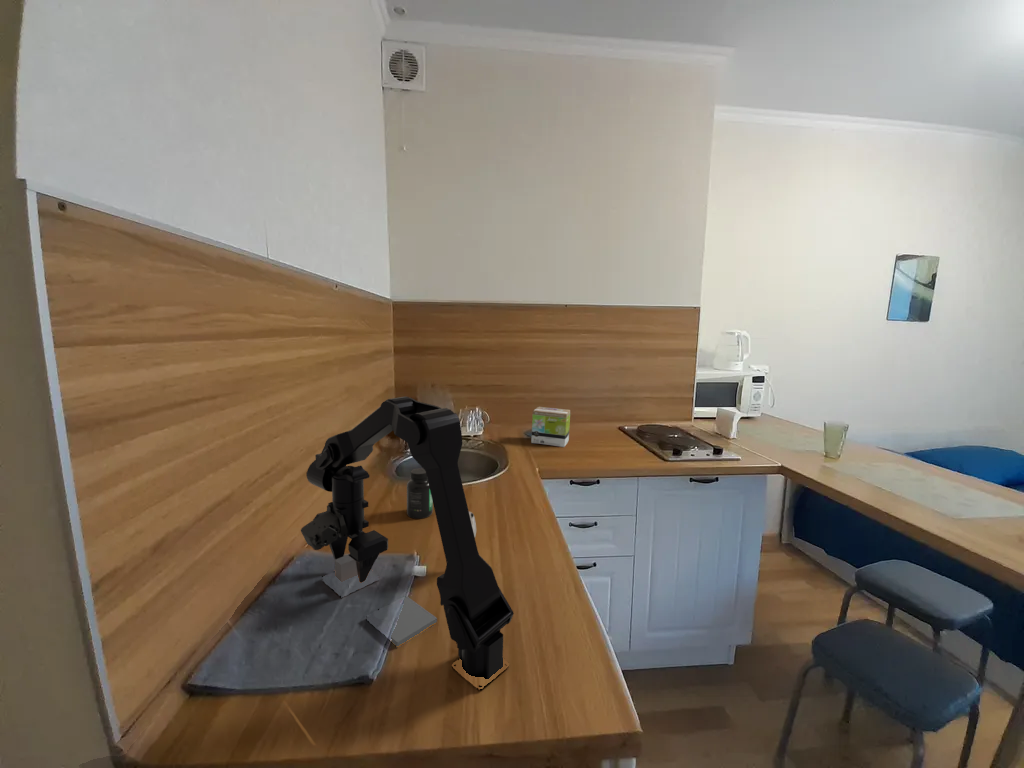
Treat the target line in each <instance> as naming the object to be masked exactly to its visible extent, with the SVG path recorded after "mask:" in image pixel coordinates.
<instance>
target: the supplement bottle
mask: <svg viewBox="0 0 1024 768" xmlns="http://www.w3.org/2000/svg"><path fill="white" fill-rule="evenodd" d="M409 478H410V480H408V482H407V484H406V514H407V516H408V517H409V518H412V519H415V520H417V519H418V520H420V519H425V518H428V517H430V516H432V514H433V511H434V505H433V501H432V496H431V492H430V487H429V483H428V479H427V474H426V471H425V470H424V469H423V468H422V467H420V468H419V467H418V468H413V469H412V470H411V471H410V475H409Z"/></svg>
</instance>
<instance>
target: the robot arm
mask: <svg viewBox="0 0 1024 768" xmlns="http://www.w3.org/2000/svg"><path fill="white" fill-rule="evenodd" d="M391 432H393V434H394V436H396V437H397V438H399V439H401V440H403V442H406V443H407V446H408V448H409V452H410V455H411V457H412V458H413V459H414V461H416V462H417V463H418V464H419V466H421V467H420V468H423V469H424V470H425V471H426V474H427V479H428V483H429V487H430V492H431V496H432V501H433V510H434V512H435V518H436V521H437V526H438V531H439V536H440V539H441V540H440V541H441V543H442V548H443V552H444V556H445V557H444V558H445V560H446V561H445V562H446V566H445V570H444V573H443V574H441V575H439V576H437V578H436V586H437V590H438V592H439V596H440V597H439V598H440V602H439V603H440V604H439V605H440V606H443V612H444V615H445V620H446V624H447V628H448V632H449V638H450V639H451V640H452V641H454V642H455V643H456V646H457V647H456V648H457V650H458V651H457V653H458V654H457V655H458V659H459V658H460V659H461V660H462V667H463V669H464V670H465V671H466V673H468V674H469V675H471V676H475V677H484V678H485V679H489V678H490V677H491V676H492V675H493V674H495V673H496V672H497V671H498V670H499V669H501V668H502V667H503V658H504V634H503V633H502V632H501V629H503V628H504V627H505V626H507V625H508V624H510V623H511V621H512V620H513V617H514V614H515V613H514V610H513V609H512V608H511V605H510V604H509V602H508V600H507V598H506V597H505V595H504V594H503V592H502V590H501V588H500V587H499V585H498V584H499V583H498V582H497V579H496V576H495V573H494V570H493V568H492V566H490V565H489V563H488V562H487V561H486V560H485V559H484V558H483V557H482V556H481V555H480V554H479V550H478V546H477V542H476V536H475V537H474V532H473V528H472V524H471V519H470V515H469V512H470V511H469V506H468V503H467V499H466V495H465V489H464V486H463V481H462V477H461V473H460V469H459V464H458V463H459V459H460V455H461V450H462V447H463V435H462V433H463V432H462V426H461V420H460V418H459V416H458V414H457V413H456V412H454V411H453V410H452V409H449V408H447V407H446V408H445V407H444V408H443V407H440V406H439V405H435V404H434V405H433V404H430V403H425V402H423V401H422V402H421V401H418V400H416V399H415V398H412V397H409V396H401V397H399V396H398V397H394V398H387V399H386V400H384V401H382V403H381V404H380V406H379V407H378V408H377V409H375V410H374V411H373V412H372V413H371V414H369V415H368V416H367V417H366V418H364V419H363V420H361V421H360V422H359V423H358V424H357V425H355V426H354V427H353V428H352V429H349V430H347V431H344V432H340V433H337V434H335V435H333V436H329V437H328V438H327V439H326V441H325V442H324V446H323V449H322V450H321V452H320V453H317V454H315V455H314V456H315V459H314V460H313V461H312V462H311V463H310V464H309V466H308V468H307V471H306V479H307V481H308V482H309V483H310V484H311V485H314V487H315V486H316V487H318V488H319V489H322V490H323V491H325V492H326V491H327V492H328V493H329V492H330V493H331V494H332V496H331V498H332V500H331V502H328V503H327V505H326V511H323V512H319V513H317V514H316V515H315V517H314V518H313V519H312V521H310V522H308V523H307V524H306V525H304V526H302V527H301V529H300V532H301V535H302V537H303V538H304V540H305V542H306V543H307V545H308V546H309V547H311V548H312V549H313V550H314V551H319V550H321V549H323V548H324V547H327V546H329V548H330V550H331V554H332V557H333V559H334V560H333V561H335V560H336V559H338V558H341V557H343V556H345V552H346V548H347V544H348V553H349V555H348V554H347V555H348V556H350V557H351V558H352V559H354V560H355V561H356V566H357V573H358V578H359V582H360V583H362V582H364V581H365V580H366V578H367V576H368V574H369V572H370V570H372V568H373V566H374V564H375V562H376V560H377V559H378V557H379V556H380V554H381V553H385V552H386V551H388V550H389V538H387V537H386V536H385V535H383V534H381V533H380V532H378V531H376V530H375V529H373V530H370V531H368V532H365V531H364V529H365V528H369V527H370V523H369V521H368V520H366V519H365V508H369V501H368V500H366V499H365V495H364V494H365V493H364V492H365V491H364V480H366V479H369V478H370V474H369V472H368V471H367V470H365V469H364V467H363V465H357V466H354V465H352V464H355V463H358V462H362V461H365V460H367V458H368V457H369V456H370V455H371V453H372V452H373V451H374V445H375V444H376V443H378V442H379V441H381V440H382V439H383V438H385V437H386V436H387V435H389V434H390V433H391ZM350 464H351V465H350ZM348 538H349V539H350V540H349V541H350V542H349V543H348Z"/></svg>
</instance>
